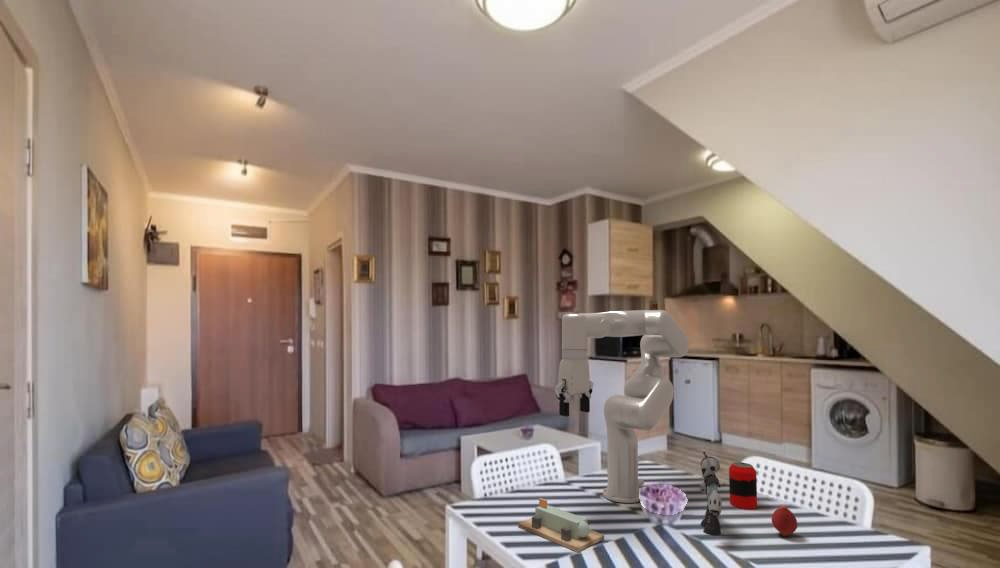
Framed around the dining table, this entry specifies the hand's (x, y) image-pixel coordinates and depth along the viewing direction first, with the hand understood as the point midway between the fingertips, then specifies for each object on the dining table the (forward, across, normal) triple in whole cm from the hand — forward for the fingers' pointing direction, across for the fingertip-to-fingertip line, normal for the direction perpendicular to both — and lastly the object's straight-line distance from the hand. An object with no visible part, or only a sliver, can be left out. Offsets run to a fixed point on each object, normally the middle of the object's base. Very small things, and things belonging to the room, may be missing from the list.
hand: (574, 413), depth 148 cm
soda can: (+28, -43, +31) cm, 60 cm away
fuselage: (+27, +14, +6) cm, 31 cm away
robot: (+28, -18, +32) cm, 46 cm away
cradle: (+28, +14, +6) cm, 32 cm away
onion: (+28, -28, +47) cm, 62 cm away
